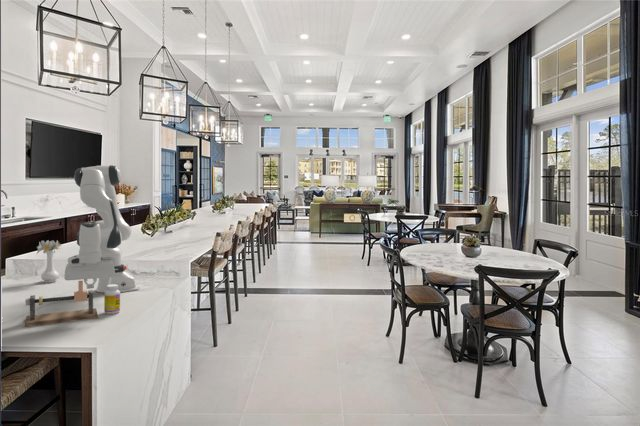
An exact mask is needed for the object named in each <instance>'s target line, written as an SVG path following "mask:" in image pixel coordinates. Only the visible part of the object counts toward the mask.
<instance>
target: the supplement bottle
mask: <svg viewBox="0 0 640 426" xmlns="http://www.w3.org/2000/svg"><path fill="white" fill-rule="evenodd" d="M117 288H118V285H116V284H111V285H107V291H106V292H105V293H104V295H103V296H104V300H103V301H104V308H103V310H104V313H105V314H108V315H114V314H118V313H120V311H121V292H120V291H119V290H117Z"/></svg>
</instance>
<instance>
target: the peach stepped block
mask: <svg viewBox="0 0 640 426" xmlns="http://www.w3.org/2000/svg"><path fill="white" fill-rule="evenodd" d="M77 281H78V283H77V284H78V285H77V286H78V287H77V288H78V290H77V291H76V290H75V291H73V296H74V299H73V300H74V301H73V302H74V303H77V302H79V303H80V302H87V301H88V298H87V295H88V290H83V289H84V284H83V283H84V280H83V279H80V280H77Z"/></svg>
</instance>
